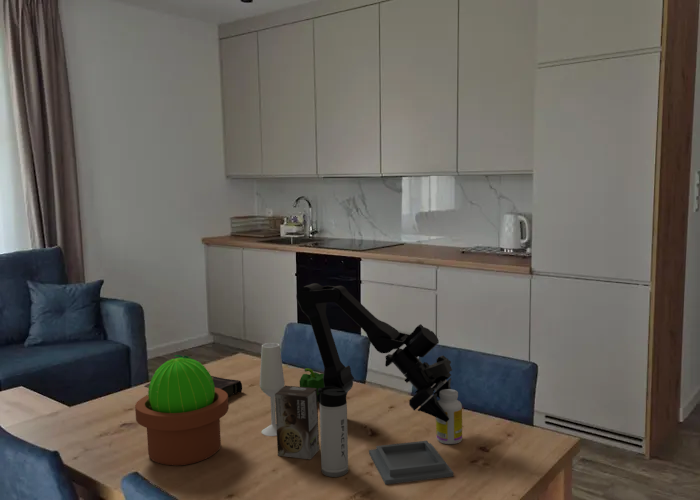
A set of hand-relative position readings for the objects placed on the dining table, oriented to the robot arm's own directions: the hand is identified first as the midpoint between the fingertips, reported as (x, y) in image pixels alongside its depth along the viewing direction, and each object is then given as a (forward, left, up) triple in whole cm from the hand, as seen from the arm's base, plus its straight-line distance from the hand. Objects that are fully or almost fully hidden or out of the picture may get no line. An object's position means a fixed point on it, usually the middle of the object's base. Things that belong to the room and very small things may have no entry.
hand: (453, 414), depth 160 cm
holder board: (-15, -10, -7) cm, 19 cm away
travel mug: (-33, -9, -7) cm, 35 cm away
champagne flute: (-45, +18, -7) cm, 49 cm away
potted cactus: (-68, +11, -7) cm, 69 cm away
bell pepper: (-31, +39, -7) cm, 50 cm away
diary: (-68, +53, -8) cm, 86 cm away
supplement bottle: (-1, +1, -7) cm, 7 cm away
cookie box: (-40, +3, -7) cm, 41 cm away
